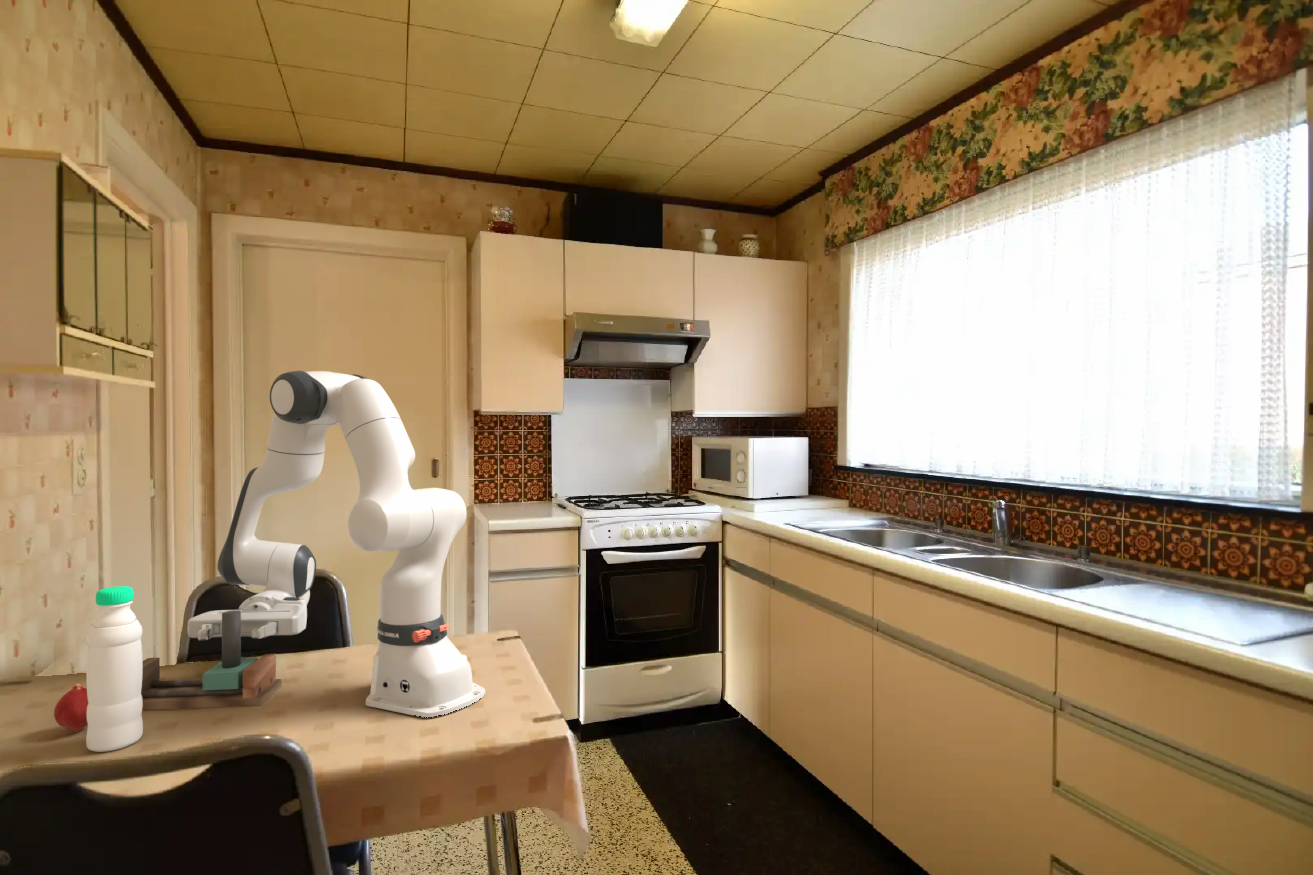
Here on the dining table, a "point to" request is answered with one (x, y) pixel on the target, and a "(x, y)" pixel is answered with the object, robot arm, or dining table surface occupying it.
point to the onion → (72, 709)
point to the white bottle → (114, 673)
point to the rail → (191, 694)
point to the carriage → (228, 657)
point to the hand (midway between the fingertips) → (229, 635)
